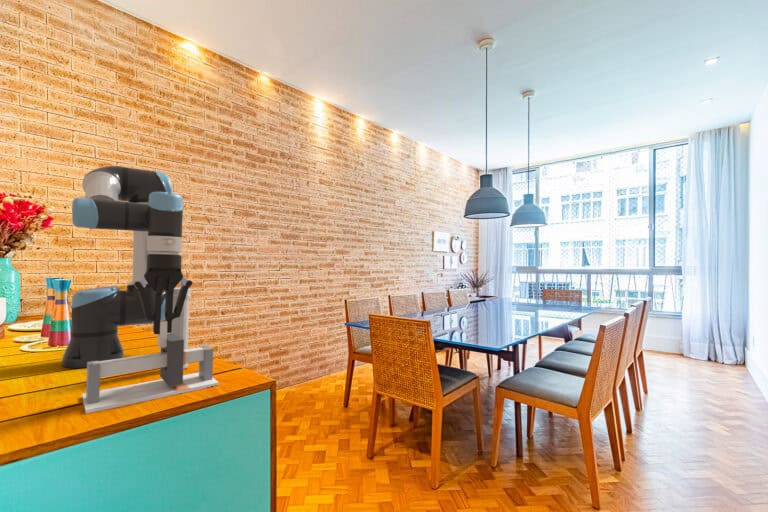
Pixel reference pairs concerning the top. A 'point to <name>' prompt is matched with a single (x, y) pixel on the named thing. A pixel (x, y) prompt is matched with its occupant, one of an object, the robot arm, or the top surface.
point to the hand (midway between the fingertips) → (162, 346)
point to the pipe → (181, 319)
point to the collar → (173, 360)
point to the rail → (147, 390)
